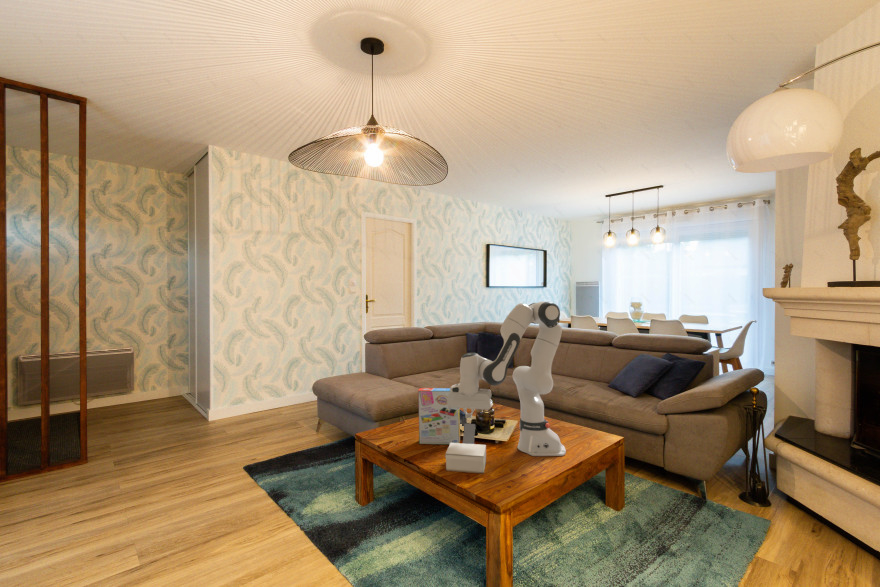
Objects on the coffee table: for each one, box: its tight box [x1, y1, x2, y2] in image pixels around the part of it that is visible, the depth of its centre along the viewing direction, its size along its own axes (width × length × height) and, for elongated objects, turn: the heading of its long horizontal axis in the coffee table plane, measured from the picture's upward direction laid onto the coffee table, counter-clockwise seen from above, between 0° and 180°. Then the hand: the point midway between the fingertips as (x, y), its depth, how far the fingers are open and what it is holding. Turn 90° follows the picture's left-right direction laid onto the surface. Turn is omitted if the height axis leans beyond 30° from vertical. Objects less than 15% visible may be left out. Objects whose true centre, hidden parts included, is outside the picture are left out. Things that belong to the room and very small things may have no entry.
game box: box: [417, 387, 461, 445], centre depth 206 cm, size 21×6×27 cm, turn 84°
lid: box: [445, 423, 487, 462], centre depth 181 cm, size 16×20×9 cm
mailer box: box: [445, 448, 487, 474], centre depth 178 cm, size 16×12×7 cm
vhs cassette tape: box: [459, 408, 468, 426], centre depth 229 cm, size 18×3×10 cm, turn 18°
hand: (468, 417), depth 190 cm, fingers closed
